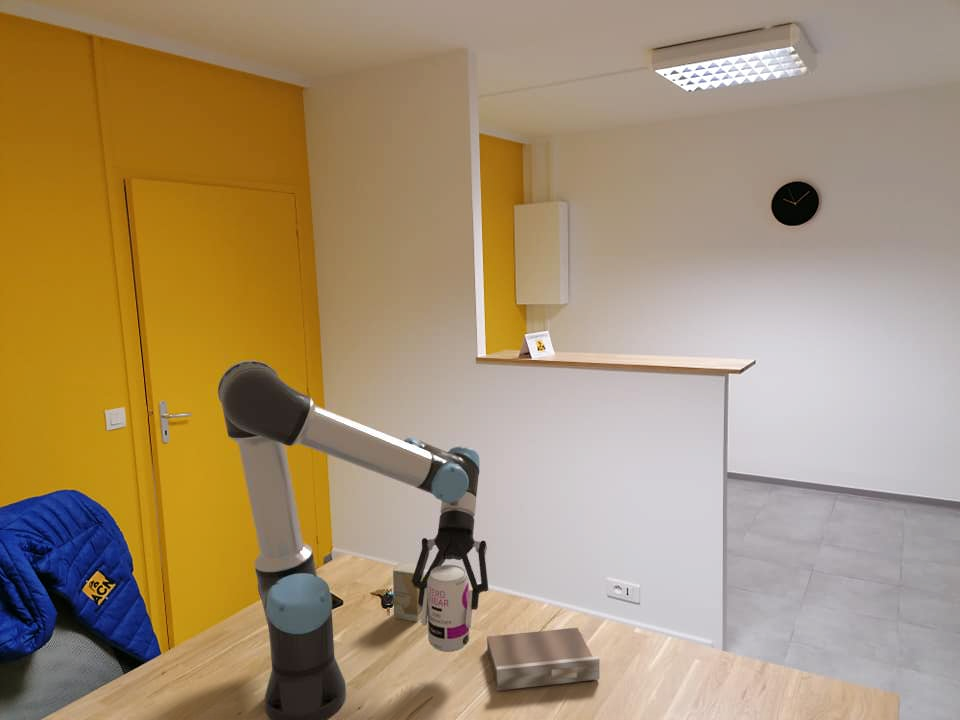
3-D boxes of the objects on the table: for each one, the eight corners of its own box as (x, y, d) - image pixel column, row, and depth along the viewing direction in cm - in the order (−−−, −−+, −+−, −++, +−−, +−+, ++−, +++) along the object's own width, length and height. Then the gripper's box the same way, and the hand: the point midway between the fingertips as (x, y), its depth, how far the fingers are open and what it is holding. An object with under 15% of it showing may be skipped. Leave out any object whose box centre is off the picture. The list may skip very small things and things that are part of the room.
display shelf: (498, 693, 135) (497, 670, 134) (486, 649, 150) (485, 628, 149) (599, 682, 138) (599, 659, 137) (578, 640, 153) (578, 619, 152)
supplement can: (471, 632, 145) (470, 564, 142) (466, 654, 137) (465, 582, 134) (432, 630, 146) (430, 562, 143) (425, 652, 137) (424, 581, 135)
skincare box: (393, 618, 164) (391, 570, 162) (400, 609, 168) (398, 561, 166) (418, 622, 162) (416, 573, 160) (425, 613, 166) (423, 564, 164)
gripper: (506, 525, 152) (500, 632, 139) (412, 521, 155) (397, 626, 141) (504, 510, 146) (497, 622, 133) (406, 506, 149) (390, 615, 135)
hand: (445, 624), depth 137 cm, fingers closed on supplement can, 8 cm apart
